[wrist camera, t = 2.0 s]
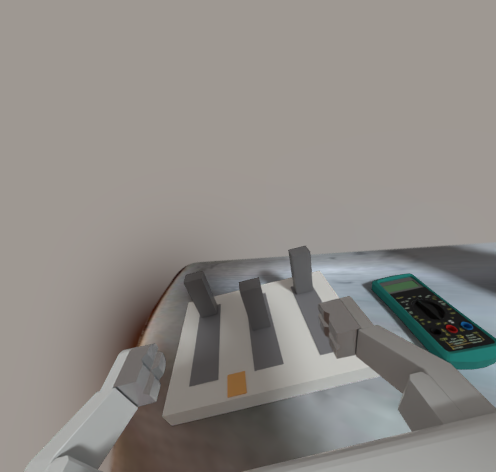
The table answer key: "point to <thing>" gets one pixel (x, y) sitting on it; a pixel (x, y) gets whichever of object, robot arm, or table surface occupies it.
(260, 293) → the post
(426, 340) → the digital multimeter
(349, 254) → the table surface
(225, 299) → the box
